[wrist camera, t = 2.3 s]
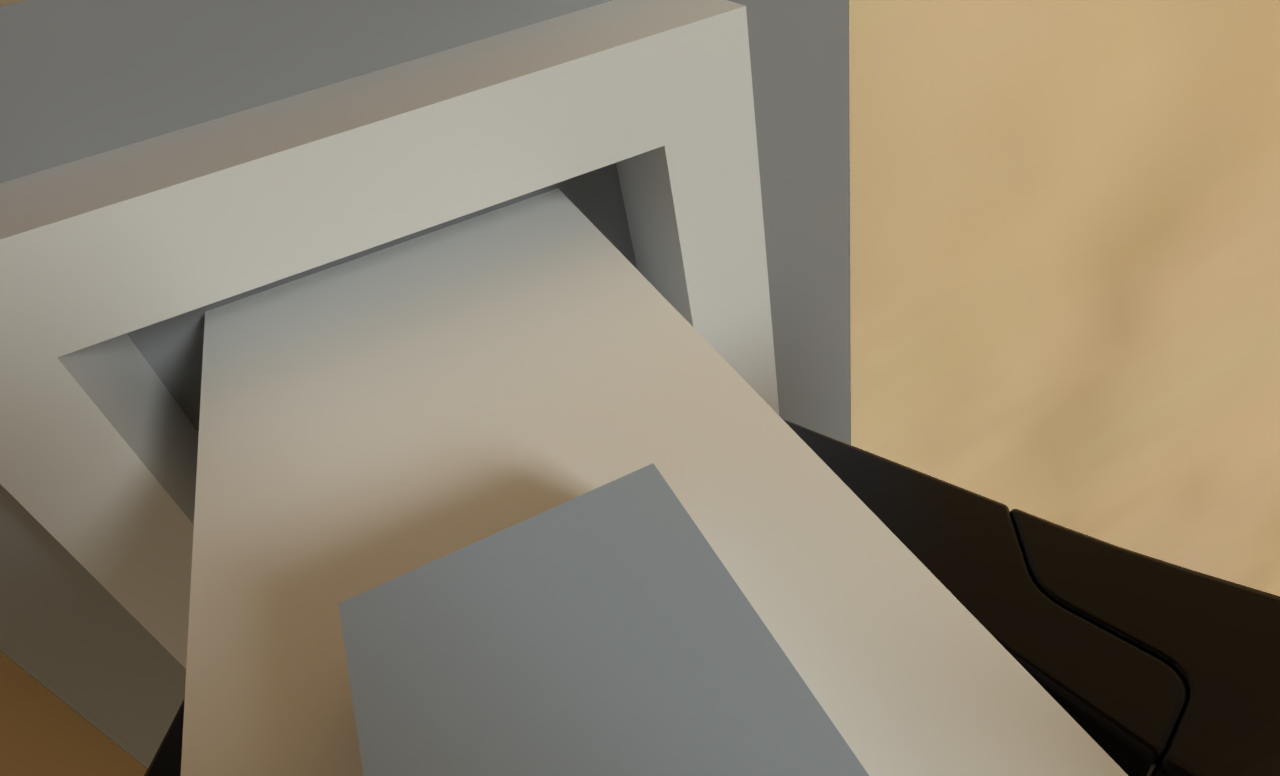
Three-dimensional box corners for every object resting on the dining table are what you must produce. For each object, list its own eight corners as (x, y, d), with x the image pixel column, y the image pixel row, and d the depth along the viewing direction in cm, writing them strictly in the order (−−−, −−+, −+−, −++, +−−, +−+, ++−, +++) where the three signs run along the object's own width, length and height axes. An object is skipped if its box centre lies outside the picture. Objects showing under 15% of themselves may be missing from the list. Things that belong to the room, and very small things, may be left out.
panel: (834, 709, 21) (891, 790, 19) (407, 945, 18) (426, 1063, 17) (803, -204, 9) (958, -218, 7) (-525, 130, 6) (-850, 252, 4)
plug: (622, 438, 11) (1059, 1091, 5) (357, 552, 11) (528, 1480, 5) (545, 138, 9) (1289, 818, 3) (173, 262, 8) (-25, 1721, 2)
